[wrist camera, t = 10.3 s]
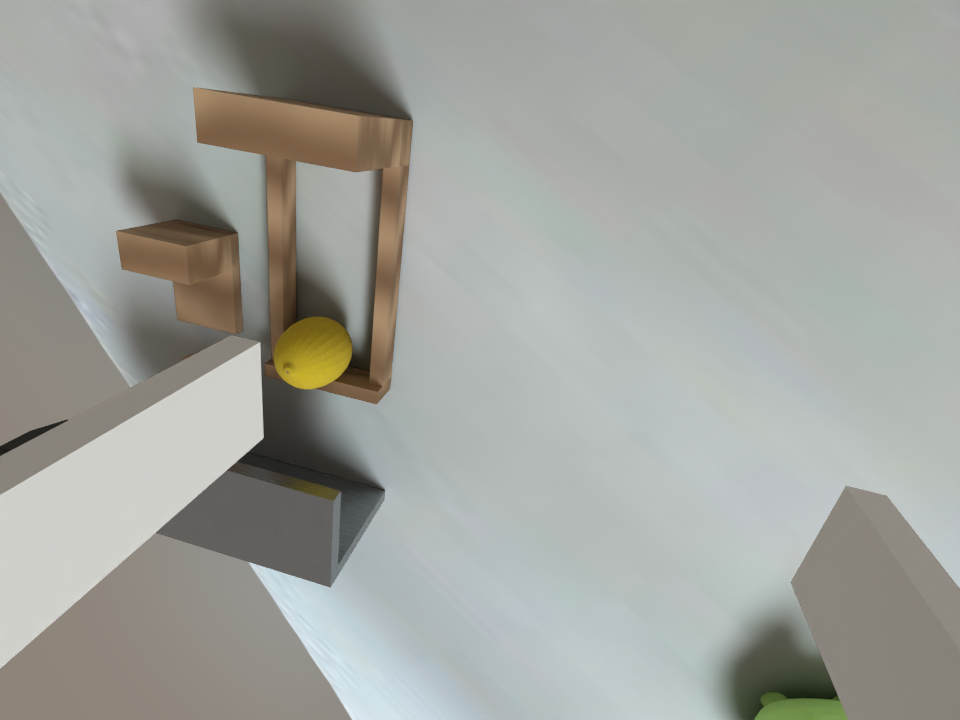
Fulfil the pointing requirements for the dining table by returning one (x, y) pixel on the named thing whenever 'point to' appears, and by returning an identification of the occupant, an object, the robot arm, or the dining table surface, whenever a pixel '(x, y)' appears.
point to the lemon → (313, 352)
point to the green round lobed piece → (799, 708)
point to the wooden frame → (284, 140)
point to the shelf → (279, 517)
